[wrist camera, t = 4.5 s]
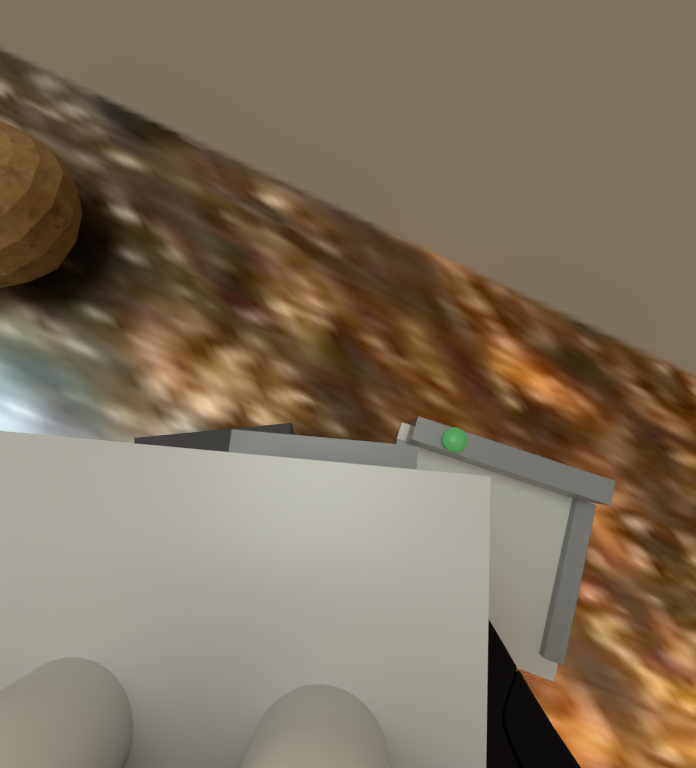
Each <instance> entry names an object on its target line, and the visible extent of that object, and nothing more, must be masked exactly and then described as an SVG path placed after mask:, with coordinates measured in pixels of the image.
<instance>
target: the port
mask: <svg viewBox="0 0 696 768" xmlns="http://www.w3.org/2000/svg"><path fill="white" fill-rule="evenodd" d="M395 444H400V445H411V446H418V452H417V470H427V471H438V472H449V473H459V474H470V475H481V476H491V486H490V551H489V617H488V618H489V620H490V622H491V623H492V625H493V627H494V628H495V630H496V632H497V634H498V635H499V637H500V639H501V640H502V642H503V644H504V645H505V647H506V649H507V651H508V652H509V654H510V656H511V657H512V659H513V661H514V663H515V664H516V666H517V668H518V669H521V670H523V671H526V672H529V673H531V674H534V675H537V676H539V677H542V678H545V679H548V680H550V681H553V682H554V681H555V676H556V671H557V666H558V664H561V665H563V666H564V662H565V657H566V652H567V647H568V642H569V637H570V632H571V627H572V622H573V617H574V612H575V607H576V603H577V598H578V593H579V588H580V583H581V578H582V573H583V568H584V563H585V558H586V553H587V548H588V543H589V538H590V533H591V528H592V523H593V519H594V514H595V509H596V505H594V504H591V503H597V504H604V505H611V502H612V496H613V491H614V486H615V481H613V480H610V479H607V478H604V477H601V476H598V475H595V474H592V473H589V472H586V471H583V470H580V469H577V468H574V467H571V466H568V465H565V464H562V463H559V462H556V461H553V460H550V459H546V458H543V457H540V456H537V455H534V454H531V453H528V452H525V451H522V450H519V449H516V448H513V447H510V446H507V445H504V444H501V443H498V442H495V441H492V440H489V439H486V438H483V437H480V436H477V435H474V434H471V433H467V432H464V431H463V430H461V429H460V428H452V427H449V426H446V425H443V424H440V423H437V422H434V421H431V420H428V419H425V418H422V417H419V416H418V417H417V418H416V419H414V420H413V421H412V422H411V423H410V425H408V424H405V423H401V425H400V428H399V431H398V434H397V437H396V441H395Z"/></svg>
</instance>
